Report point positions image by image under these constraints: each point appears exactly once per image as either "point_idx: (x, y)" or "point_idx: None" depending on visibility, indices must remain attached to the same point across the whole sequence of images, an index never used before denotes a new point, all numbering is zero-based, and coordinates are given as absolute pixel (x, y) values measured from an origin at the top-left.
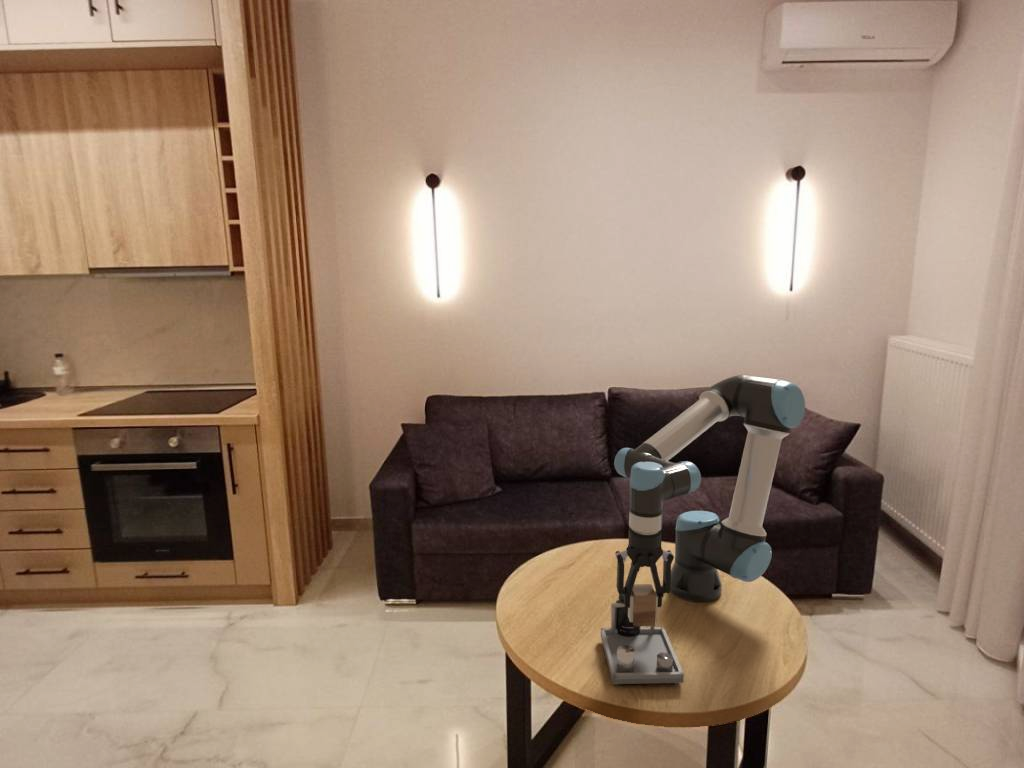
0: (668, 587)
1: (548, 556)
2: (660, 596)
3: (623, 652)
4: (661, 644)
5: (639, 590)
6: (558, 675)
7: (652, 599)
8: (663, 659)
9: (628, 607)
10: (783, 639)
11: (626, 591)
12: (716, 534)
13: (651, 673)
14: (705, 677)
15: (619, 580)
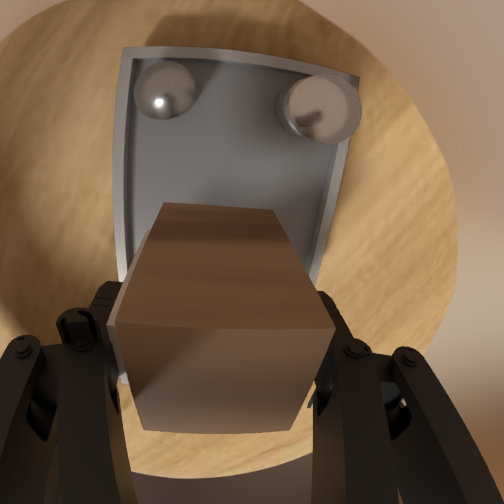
0: (6, 373)
1: (294, 458)
2: (82, 316)
3: (342, 99)
4: (142, 218)
5: (259, 387)
6: (434, 164)
7: (158, 293)
8: (173, 78)
9: None
10: None
11: (374, 367)
12: None
13: (231, 56)
14: (62, 99)
15: (463, 428)
